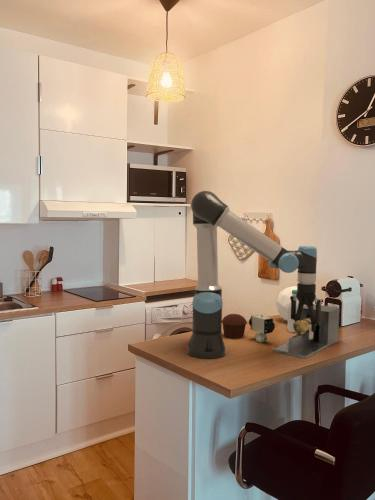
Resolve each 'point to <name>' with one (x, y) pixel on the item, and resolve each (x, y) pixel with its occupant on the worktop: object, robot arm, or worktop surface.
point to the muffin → (234, 326)
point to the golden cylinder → (302, 325)
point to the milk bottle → (290, 321)
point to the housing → (321, 335)
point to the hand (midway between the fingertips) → (304, 337)
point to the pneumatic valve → (261, 326)
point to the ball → (285, 301)
